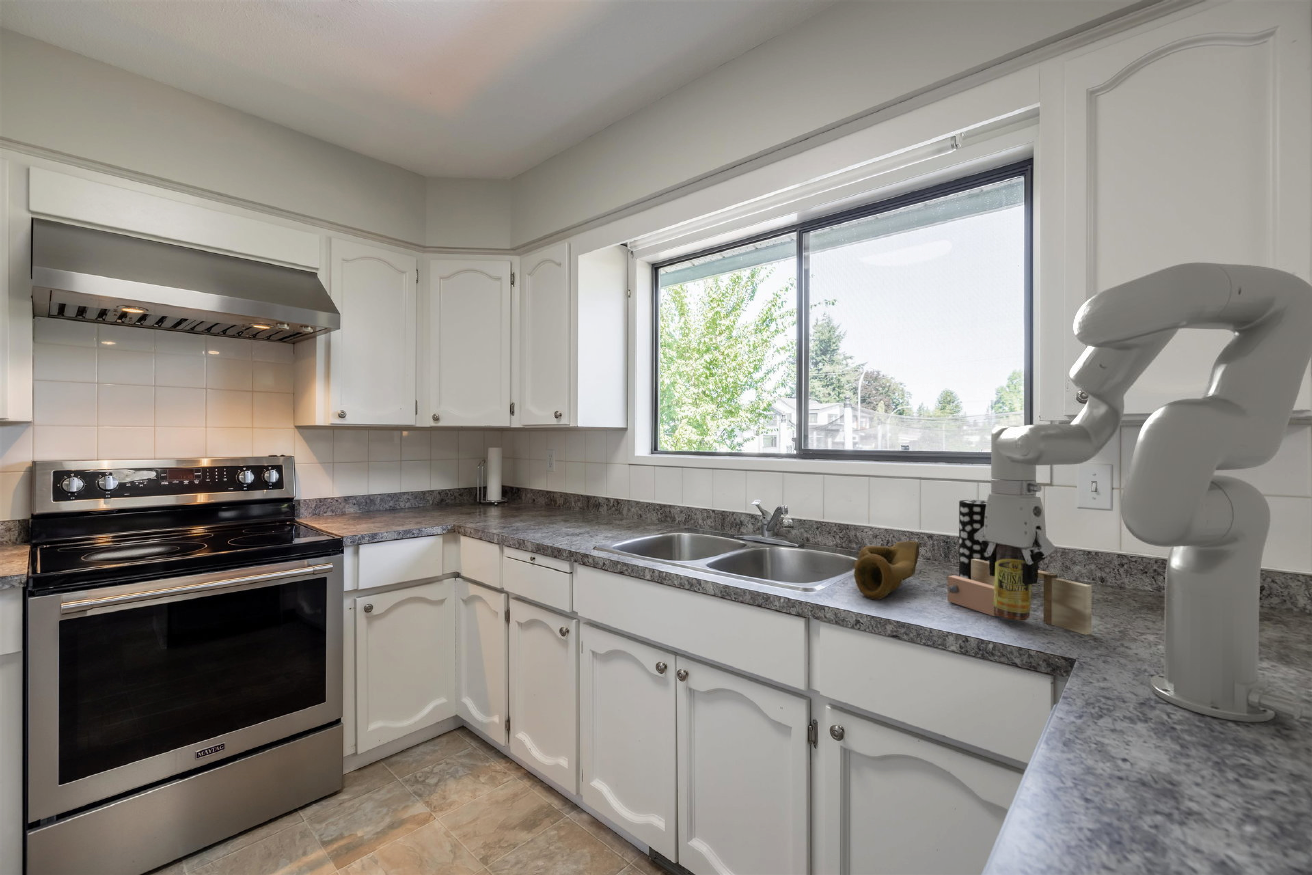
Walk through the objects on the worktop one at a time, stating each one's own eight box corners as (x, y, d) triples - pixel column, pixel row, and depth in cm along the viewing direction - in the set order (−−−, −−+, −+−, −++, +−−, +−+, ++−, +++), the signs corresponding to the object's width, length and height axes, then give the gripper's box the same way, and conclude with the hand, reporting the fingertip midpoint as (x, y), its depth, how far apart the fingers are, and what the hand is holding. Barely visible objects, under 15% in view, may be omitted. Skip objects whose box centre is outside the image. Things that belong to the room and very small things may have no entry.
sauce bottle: (994, 619, 113) (993, 517, 113) (992, 610, 118) (992, 513, 118) (1034, 624, 110) (1033, 519, 110) (1030, 614, 115) (1030, 515, 115)
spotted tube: (996, 589, 137) (997, 505, 136) (957, 584, 141) (957, 502, 141) (998, 581, 144) (998, 501, 143) (960, 577, 148) (960, 499, 148)
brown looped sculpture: (960, 560, 135) (899, 555, 124) (939, 608, 138) (877, 608, 127) (898, 525, 151) (839, 518, 140) (880, 569, 153) (821, 565, 143)
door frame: (1092, 633, 107) (1092, 582, 107) (1085, 635, 107) (1085, 583, 106) (976, 598, 130) (976, 555, 129) (970, 599, 129) (970, 556, 129)
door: (1000, 614, 117) (1001, 587, 117) (990, 616, 116) (990, 589, 116) (954, 599, 128) (954, 575, 128) (944, 601, 126) (944, 576, 126)
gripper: (1071, 491, 107) (1071, 588, 107) (986, 483, 123) (986, 567, 123) (1044, 493, 104) (1043, 593, 105) (961, 485, 120) (960, 571, 121)
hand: (1012, 578), depth 114 cm, fingers closed on sauce bottle, 6 cm apart
